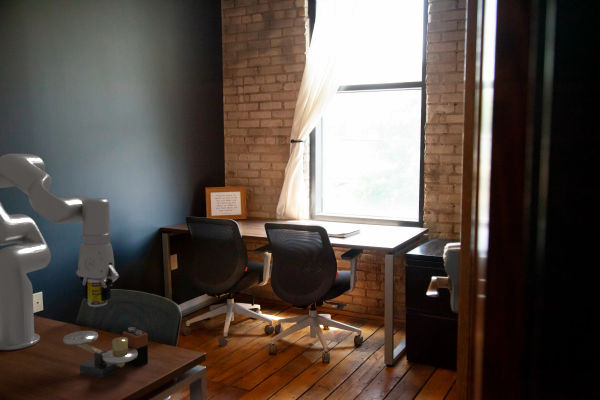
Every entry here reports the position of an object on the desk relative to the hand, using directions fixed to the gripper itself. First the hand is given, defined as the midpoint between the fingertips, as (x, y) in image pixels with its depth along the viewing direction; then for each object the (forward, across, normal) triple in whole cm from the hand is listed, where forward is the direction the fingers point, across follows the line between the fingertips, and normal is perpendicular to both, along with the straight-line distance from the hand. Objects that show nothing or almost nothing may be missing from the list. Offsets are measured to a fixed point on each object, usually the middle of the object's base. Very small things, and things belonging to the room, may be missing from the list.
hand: (97, 298), depth 145 cm
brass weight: (+11, +16, -10) cm, 22 cm away
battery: (+17, +15, -1) cm, 23 cm away
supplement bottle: (+2, 0, 0) cm, 2 cm away
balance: (+17, +9, -10) cm, 22 cm away
